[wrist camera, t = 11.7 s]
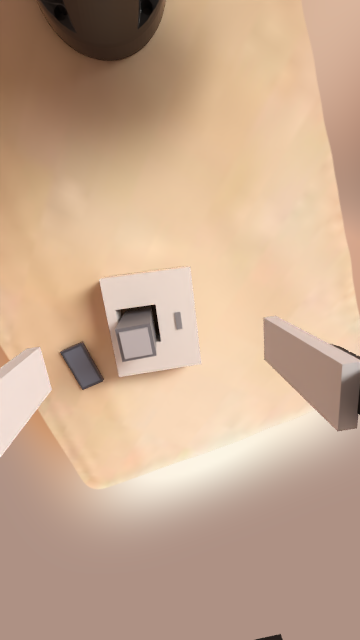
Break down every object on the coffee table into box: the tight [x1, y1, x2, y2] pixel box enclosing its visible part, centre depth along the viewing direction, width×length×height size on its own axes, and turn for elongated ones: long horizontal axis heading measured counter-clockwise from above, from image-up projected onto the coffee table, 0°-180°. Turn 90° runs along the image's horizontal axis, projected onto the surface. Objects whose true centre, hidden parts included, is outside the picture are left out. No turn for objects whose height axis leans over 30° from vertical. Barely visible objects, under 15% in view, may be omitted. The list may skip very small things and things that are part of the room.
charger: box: [115, 307, 157, 362], centre depth 33 cm, size 4×4×10 cm
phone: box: [60, 342, 104, 390], centre depth 39 cm, size 7×4×1 cm, turn 23°
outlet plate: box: [99, 266, 201, 377], centre depth 36 cm, size 14×12×4 cm
